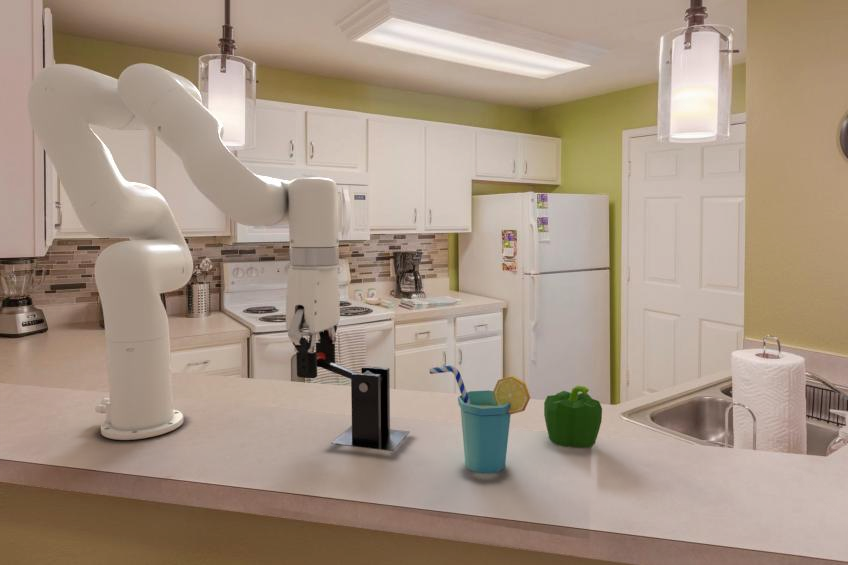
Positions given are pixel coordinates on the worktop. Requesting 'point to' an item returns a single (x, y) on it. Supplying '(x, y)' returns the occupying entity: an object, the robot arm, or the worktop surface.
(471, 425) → the cup
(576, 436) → the bell pepper
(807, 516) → the worktop surface
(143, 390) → the robot arm
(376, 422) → the bracket
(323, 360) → the lever
